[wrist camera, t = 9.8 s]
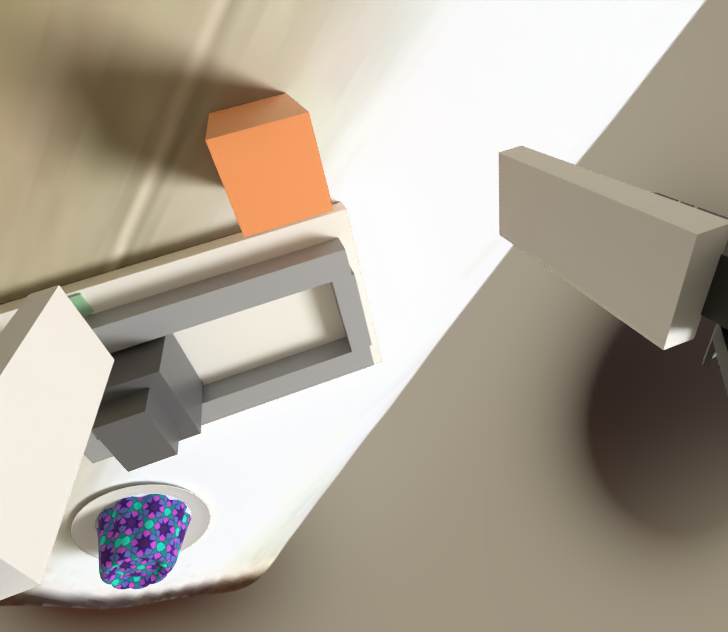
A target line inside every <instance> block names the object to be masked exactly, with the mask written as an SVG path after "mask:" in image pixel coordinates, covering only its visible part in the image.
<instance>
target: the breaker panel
mask: <svg viewBox="0 0 728 632" xmlns="http://www.w3.org/2000/svg"><path fill="white" fill-rule="evenodd" d="M332 206H333V210H332V211H329V212H326V213H322V214H319V215H316V216H312V217H309V218H306V219H302V220H299V221H296V222H293V223H289V224H286V225H283V226H279V227H276V228H273V229H269V230H266V231H263V232H260V233H256V234H253V235H250V236H246V237H244V236H243V233H242V232H240V233H237V234H233V235H230V236H227V237H223V238H220V239H217V240H213V241H210V242H207V243H203V244H200V245H197V246H194V247H190V248H187V249H184V250H180V251H177V252H174V253H170V254H167V255H164V256H160V257H157V258H154V259H150V260H147V261H144V262H141V263H137V264H134V265H131V266H127V267H124V268H121V269H117V270H114V271H111V272H107V273H104V274H101V275H97V276H94V277H91V278H87V279H84V280H81V281H78V282H74V283H71V284H68V285H64V286H61V288H62V290H63V291H64V292H65V294H66V295H67V296H68V298H69V299H70V300H71V302H72V303H73V305H74V306H75V307H76V309H77V310H78V311H79V313H80V314H81V315H82V317H83V318H84V319H85V321H86V322H87V323H88V325H89V326H90V328H91V329H92V330H93V332H94V333H95V334H96V336H97V337H98V338H99V340H100V341H101V342H102V344H103V345H104V346H105V348H106V349H107V350H108V352H109V353H113V352H116V351H119V350H122V349H125V348H129V347H132V346H135V345H138V344H141V343H144V342H147V341H150V340H153V339H156V338H159V337H163V336H166V335H169V334H172V333H173V335H174V336H175V338H176V340H177V341H178V343H179V345H180V346H181V348H182V350H183V351H184V353H185V355H186V356H187V358H188V360H189V361H190V363H191V365H192V366H193V368H194V370H195V371H196V373H197V375H198V376H199V378H200V380H201V381H202V383H203V395H202V416H201V425H204V424H207V423H209V422H212V421H215V420H218V419H221V418H224V417H227V416H229V415H232V414H235V413H238V412H241V411H244V410H246V409H249V408H252V407H255V406H258V405H261V404H264V403H266V402H269V401H272V400H275V399H278V398H281V397H284V396H286V395H289V394H292V393H295V392H298V391H301V390H304V389H306V388H309V387H312V386H315V385H318V384H321V383H323V382H326V381H329V380H332V379H335V378H338V377H341V376H343V375H346V374H349V373H352V372H355V371H358V370H361V369H363V368H366V367H369V366H372V365H374V364H376V363H379V362H382V359H381V355H380V350H379V346H378V342H377V338H376V333H375V329H374V325H373V320H372V316H371V312H370V308H369V303H368V299H367V295H366V291H365V286H364V282H363V278H362V273H361V269H360V265H359V261H358V256H357V252H356V248H355V244H354V239H353V235H352V231H351V226H350V222H349V218H348V214H347V209H346V208H345V206H344V205H343V204H342V202H339V203H336V204H333V205H332ZM26 298H27V297H25V298H21V299H18V300H15V301H11V302H8V303H5V304H1V305H0V333H1V332H2V330H3V329H4V328H5V326H6V325H7V324H8V322H9V321H10V320H11V318H12V317H13V316H14V314H15V313H16V312H17V310H18V309H19V308H20V306H21V305H22V304H23V302H24V301H25V299H26ZM84 455H85V456H86V457H87V458H88V459H89V460H90V461H91V462H92V463H95V462H98V461H101V460H104V459H107V458H110V457H113V454H112V453H111V452H110V451H109V450H108V449H107V448H106V447H105V446H104V445H103V443H102V442H101V441H100V440H99V439H98V438H97V437H96V436H95V435H94V433H93V432H92V431H91V433H90V436H89V439H88V442H87V445H86V448H85V451H84Z"/></svg>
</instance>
